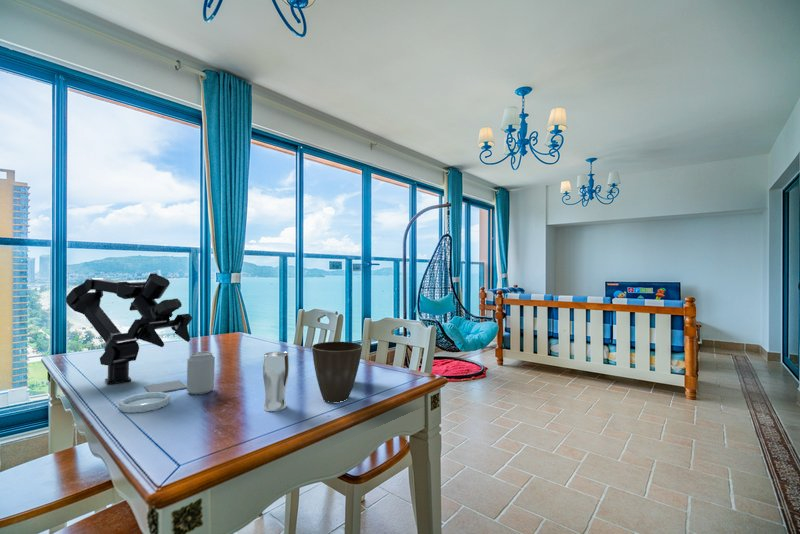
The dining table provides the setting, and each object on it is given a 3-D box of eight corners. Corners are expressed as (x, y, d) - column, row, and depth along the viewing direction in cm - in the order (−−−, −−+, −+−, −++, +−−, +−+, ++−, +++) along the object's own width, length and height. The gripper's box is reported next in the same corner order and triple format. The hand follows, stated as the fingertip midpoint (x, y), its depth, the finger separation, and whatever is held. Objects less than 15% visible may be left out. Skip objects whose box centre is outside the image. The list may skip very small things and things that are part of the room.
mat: (143, 387, 121) (143, 385, 121) (179, 381, 128) (179, 380, 128) (150, 394, 114) (150, 393, 114) (187, 388, 120) (187, 387, 120)
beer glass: (263, 414, 100) (265, 357, 101) (260, 405, 107) (261, 352, 107) (290, 410, 104) (291, 355, 104) (285, 402, 110) (286, 350, 110)
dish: (116, 404, 105) (116, 397, 105) (163, 395, 113) (164, 389, 113) (123, 416, 97) (123, 409, 97) (173, 405, 105) (174, 399, 105)
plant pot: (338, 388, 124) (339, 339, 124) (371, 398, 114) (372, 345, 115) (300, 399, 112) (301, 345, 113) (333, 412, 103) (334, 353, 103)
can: (202, 396, 113) (203, 356, 113) (180, 394, 115) (181, 354, 115) (219, 389, 120) (220, 351, 121) (198, 387, 122) (199, 349, 122)
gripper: (132, 292, 112) (161, 328, 108) (187, 290, 130) (213, 321, 126) (115, 319, 114) (143, 356, 110) (171, 313, 132) (196, 345, 128)
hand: (176, 343), depth 118 cm, fingers open, 9 cm apart
